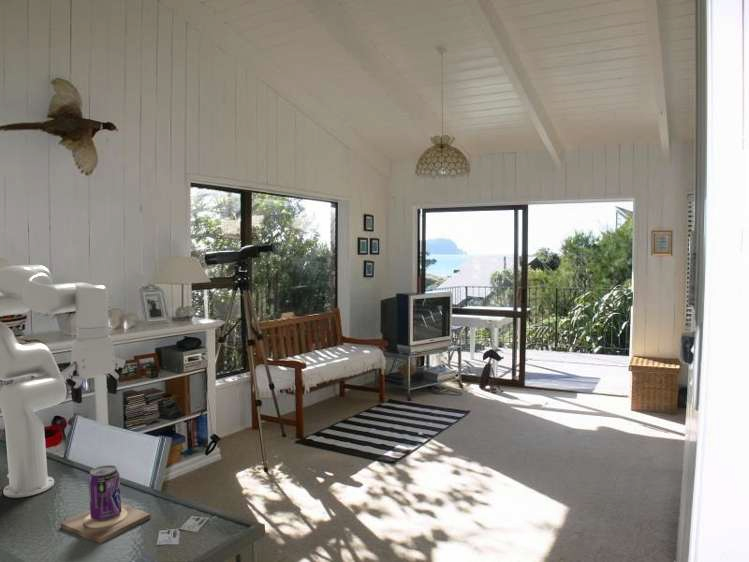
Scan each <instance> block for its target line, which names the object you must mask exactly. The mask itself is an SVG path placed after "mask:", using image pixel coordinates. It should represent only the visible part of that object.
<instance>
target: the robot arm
mask: <svg viewBox="0 0 749 562" xmlns="http://www.w3.org/2000/svg"><path fill="white" fill-rule="evenodd" d="M108 296H109V295H108V289H107V287H106V286H105V285H102V284H101V285H100V284H90V283H87V282H84V281H83V282H81V281H80V282H79V281H78V282H67V283H55V284H53V277H52V274H51V272H50V270H49V269H48V267H45V266H44V265H41V264H22V265H17V264H16V265H9V266H4V267H1V268H0V317H5V316H13V315H22V314H26V313H28V312H30V311H32V312H35V313H38V314H43V315H56V314H64V313H71V312H72V313H73V312H75V323H76V324H75V325H76V338H75V339H73V341H72V346H71V352H70V364H69V366H67V367H66V368H65V369H63V370H62V371H60V368H59V365H58V364H57V362H56V359H55V357H54V355H53V353H52V351H51V349H50V348H49V347H48V346H47V345H45V344H44V343H42V342H30V343H24V344H20V343H19V342H18V340H17V338H16V336H15V333H14V331H13V330H12V329H11V328H10V327H9V326H7V325H6V324H5V323H4V322H2V321H0V381H3V382H5V381H12V380H17V379H20V380H17V381H14V382H11V383H9V384H7V385H5V386H4V387H2V389H1V390H0V411H1V414H2V419H3V424H4V431H5V444H6V455H7V468H8V469H7V470H8V472H7V475H6V477H7V478H8V482H9V484H8V485H6V486H5V487H4V488H3V495H4V497H7V498H12V499H13V498H17V499H18V498H25V497H30V496H31V497H32V496H35V495H38V494H41V493H44V492H45V491H47V490H49V489H51V488H53V486H54V484H55V479H54V478H53V477H52V476H49V475H48V463H47V461H48V460H47V451H46V437H45V426H44V423H43V422H42V420H41V419H40V418H39V417H38V416H37V415H36V414H35V413H36V412H38V411H41V410H45V409H48V408H52V407H54V406H57V405H59V404H61V403H63V402H64V401H65V399H66V397H67V393H68V392H67V390H68V389H67V385H68V387H69V388H70V392H71V393H70V394H71V395H70V396H71V400H72V402H73V403H77V404H82V402H83V395H82V394H83V393H82V391H83V389H82V387H80V386H81V384H82V383H83V382H84V380H86V379H92V378H97V377H102V376H105V375H107V376H108V377H107V379H106V380H107V381H106V386H107V393H109V394H112V395H117V393H118V391H117V390H118V379H119V378H120V375H121V374H122V372H123V370H124V367H125V364H126V360H125V359H122V358H120V357H116V353H115V349H114V343H113V339H112V336H110V332H112V331H113V330H114V328H113V326H112V325H110V321H109V301H108V300H109V297H108ZM31 376H34V377H31ZM25 377H30V378H26V379H22V380H21V378H25ZM70 377H72V378H70Z"/></svg>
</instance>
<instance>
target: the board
mask: <svg viewBox="0 0 749 562" xmlns="http://www.w3.org/2000/svg"><path fill="white" fill-rule="evenodd" d="M121 508H122V511H121V513H120V514H118V515H117V516H115V517H114V518H112V519H109V520H105V521H99V520H94V519H92V518H91V514H90V509H89V510H87V511H84V512H82V513H80V514H78V515H76V516H73V517H71V518H69V519H66V520H64V521H62V522H60V528H61V529H64V530H66V531H68V532H71V533H73V534H75V535H78V536H80V537H82V538H85V539H88V540H90V541H92V542H94V543H97V544H100V545H101V544H102V543H104V542H106V541H108V540H111V539H112V538H115V537H117V536H119V535H120V534H122V533H124V532H126V531H129V530H131V529H132V528H135V527H136V526H138V525H141V524H142V523H144V522H147V521H148V520H150V519H151V517H152V516H151V513H149V512H146V511H143V510H140V509H137V508H134V507H132V506H129V505H126V504H122V503H121Z"/></svg>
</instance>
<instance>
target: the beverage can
mask: <svg viewBox="0 0 749 562" xmlns="http://www.w3.org/2000/svg"><path fill="white" fill-rule="evenodd" d="M120 479H121V478H120V473H119V470H118V467H117V466H116V465H114V464H113V465H112V464H108V465H107V464H106V465H101V466H97V467H94V468H93V469H91V470H90V472H89V477H88V481H87V482H88V498H89V510H90V514H91V518H92V519H94V520H99V521H105V520H109V519H112V518H114V517H115V516H117V515H118V514H120V513H121V511H122V508H121V504H122V495H121V481H120Z"/></svg>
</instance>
